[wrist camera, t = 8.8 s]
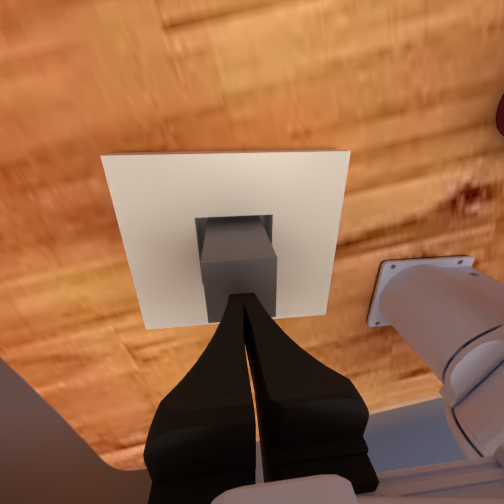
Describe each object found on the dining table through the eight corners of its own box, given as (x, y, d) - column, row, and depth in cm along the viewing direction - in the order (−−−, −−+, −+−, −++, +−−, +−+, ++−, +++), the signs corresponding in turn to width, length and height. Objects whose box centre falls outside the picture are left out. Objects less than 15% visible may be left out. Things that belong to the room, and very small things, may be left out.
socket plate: (335, 148, 19) (350, 151, 17) (316, 298, 25) (325, 314, 23) (116, 152, 17) (100, 155, 15) (153, 311, 23) (145, 329, 21)
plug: (257, 212, 20) (277, 257, 13) (258, 256, 22) (275, 316, 15) (208, 215, 20) (200, 263, 13) (212, 259, 22) (208, 323, 14)
